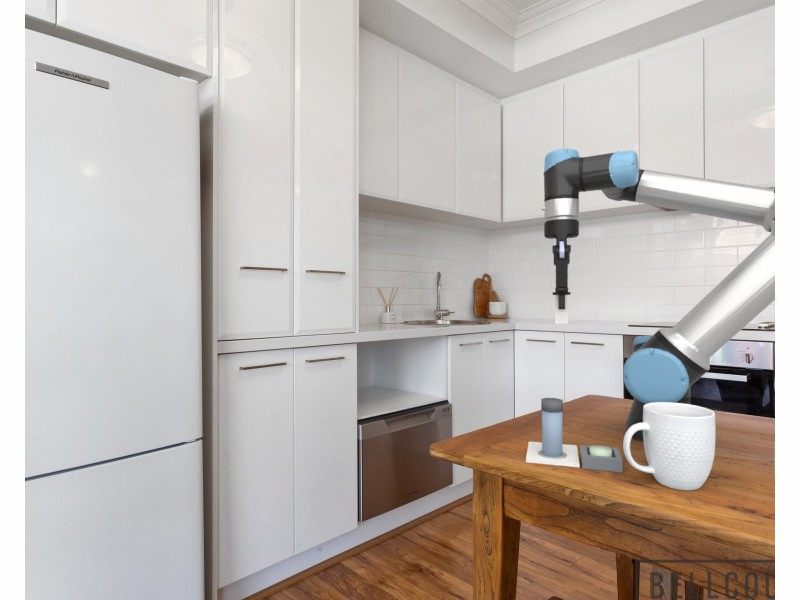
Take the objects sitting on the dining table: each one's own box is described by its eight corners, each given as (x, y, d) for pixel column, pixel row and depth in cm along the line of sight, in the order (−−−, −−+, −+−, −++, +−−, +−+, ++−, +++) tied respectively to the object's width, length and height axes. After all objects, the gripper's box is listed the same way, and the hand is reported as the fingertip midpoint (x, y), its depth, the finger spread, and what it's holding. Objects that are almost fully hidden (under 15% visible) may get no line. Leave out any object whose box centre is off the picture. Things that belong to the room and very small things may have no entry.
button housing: (618, 460, 97) (618, 448, 97) (622, 472, 90) (622, 459, 90) (580, 456, 99) (580, 445, 99) (582, 468, 92) (582, 456, 92)
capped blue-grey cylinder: (541, 449, 101) (541, 397, 101) (562, 451, 100) (562, 398, 100) (541, 456, 97) (541, 401, 97) (563, 458, 96) (563, 402, 96)
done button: (610, 459, 96) (610, 446, 96) (612, 466, 92) (612, 452, 92) (589, 457, 97) (588, 444, 97) (590, 464, 93) (590, 450, 93)
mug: (639, 496, 80) (639, 417, 80) (610, 471, 91) (610, 402, 91) (730, 496, 80) (730, 416, 79) (690, 471, 91) (691, 401, 90)
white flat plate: (576, 448, 104) (576, 444, 104) (579, 467, 93) (579, 463, 93) (528, 444, 108) (528, 440, 108) (525, 462, 96) (525, 458, 96)
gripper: (544, 224, 118) (544, 321, 118) (543, 216, 106) (544, 325, 106) (577, 223, 116) (577, 322, 116) (580, 215, 103) (580, 325, 104)
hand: (561, 323), depth 111 cm, fingers closed
